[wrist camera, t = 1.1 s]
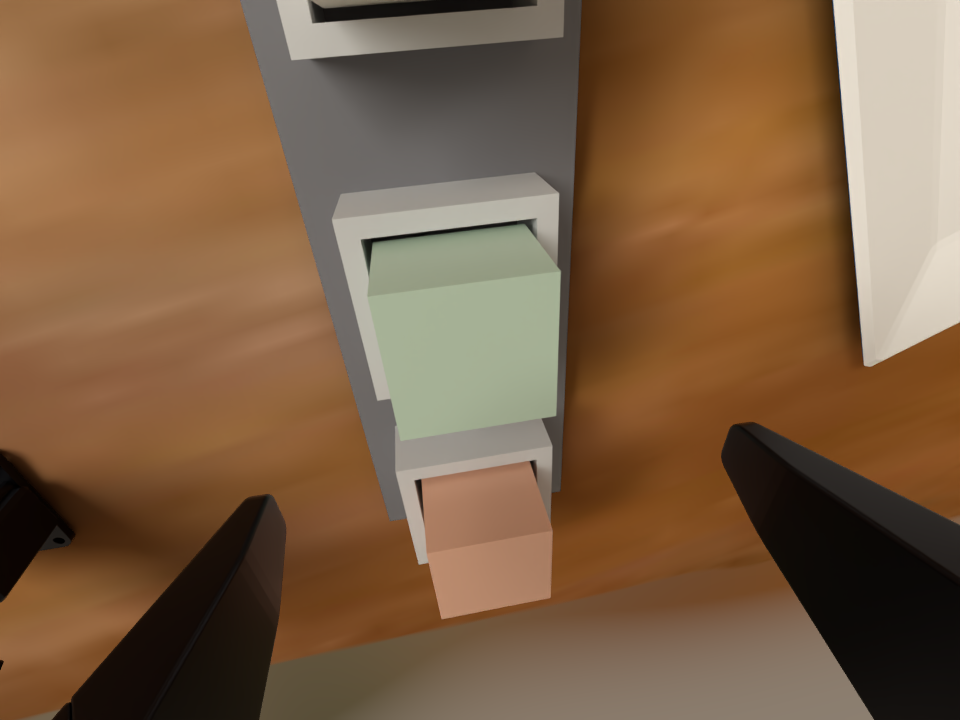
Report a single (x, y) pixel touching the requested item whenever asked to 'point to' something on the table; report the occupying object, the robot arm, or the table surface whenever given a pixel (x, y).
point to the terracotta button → (487, 539)
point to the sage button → (466, 328)
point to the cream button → (356, 2)
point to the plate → (902, 165)
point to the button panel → (425, 179)
